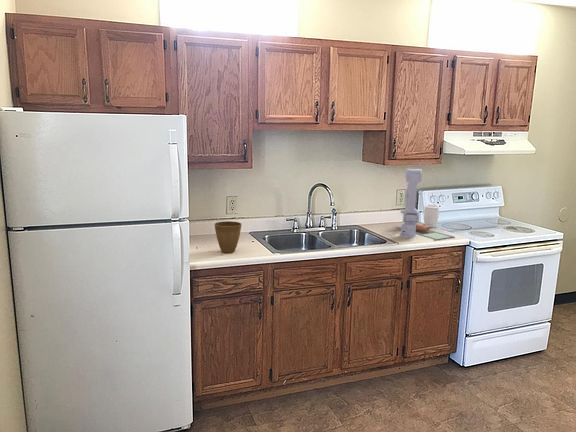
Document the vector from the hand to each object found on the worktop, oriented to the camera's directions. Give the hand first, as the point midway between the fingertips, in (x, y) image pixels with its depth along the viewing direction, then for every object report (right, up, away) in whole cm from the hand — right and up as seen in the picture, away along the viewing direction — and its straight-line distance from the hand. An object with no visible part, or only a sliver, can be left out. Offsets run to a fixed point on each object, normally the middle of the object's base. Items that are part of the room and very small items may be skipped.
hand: (408, 225), depth 337 cm
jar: (+18, -2, +9) cm, 20 cm away
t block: (+6, -4, -9) cm, 12 cm away
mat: (+9, -6, -15) cm, 19 cm away
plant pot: (-118, -14, -67) cm, 136 cm away
